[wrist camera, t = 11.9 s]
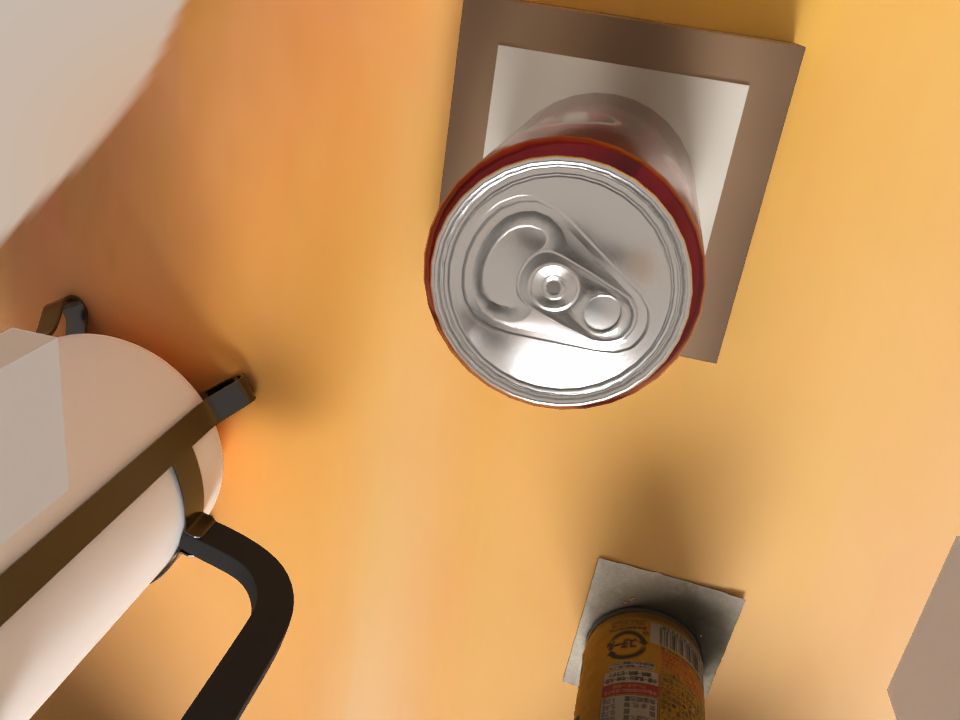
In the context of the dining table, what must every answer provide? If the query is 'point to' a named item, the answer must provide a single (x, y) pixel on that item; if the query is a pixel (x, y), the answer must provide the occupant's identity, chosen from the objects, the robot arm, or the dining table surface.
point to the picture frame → (652, 82)
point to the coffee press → (129, 523)
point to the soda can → (571, 256)
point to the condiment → (648, 645)
